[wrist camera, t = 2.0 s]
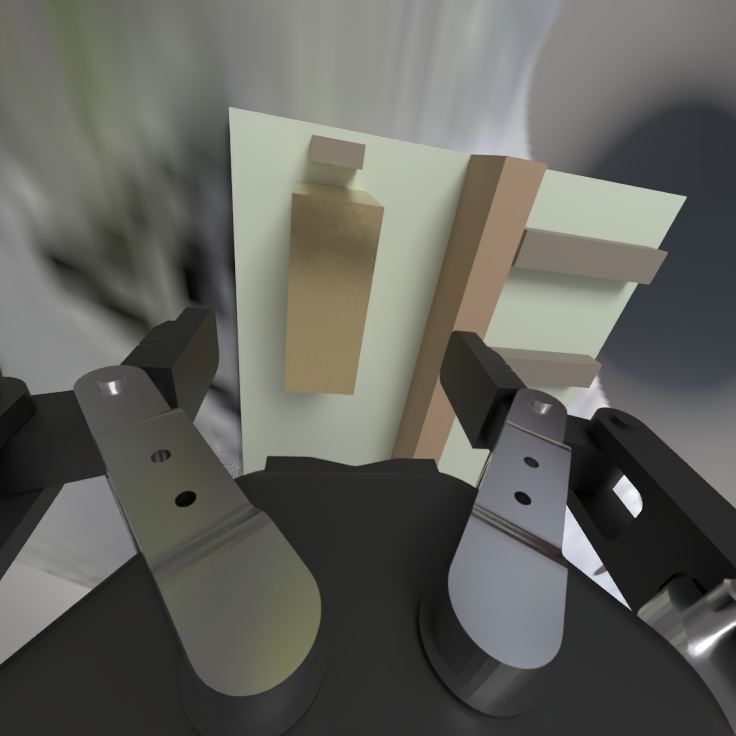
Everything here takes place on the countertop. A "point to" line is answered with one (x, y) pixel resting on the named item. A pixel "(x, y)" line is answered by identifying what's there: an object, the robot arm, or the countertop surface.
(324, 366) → the bar
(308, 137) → the door board
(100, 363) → the countertop surface
